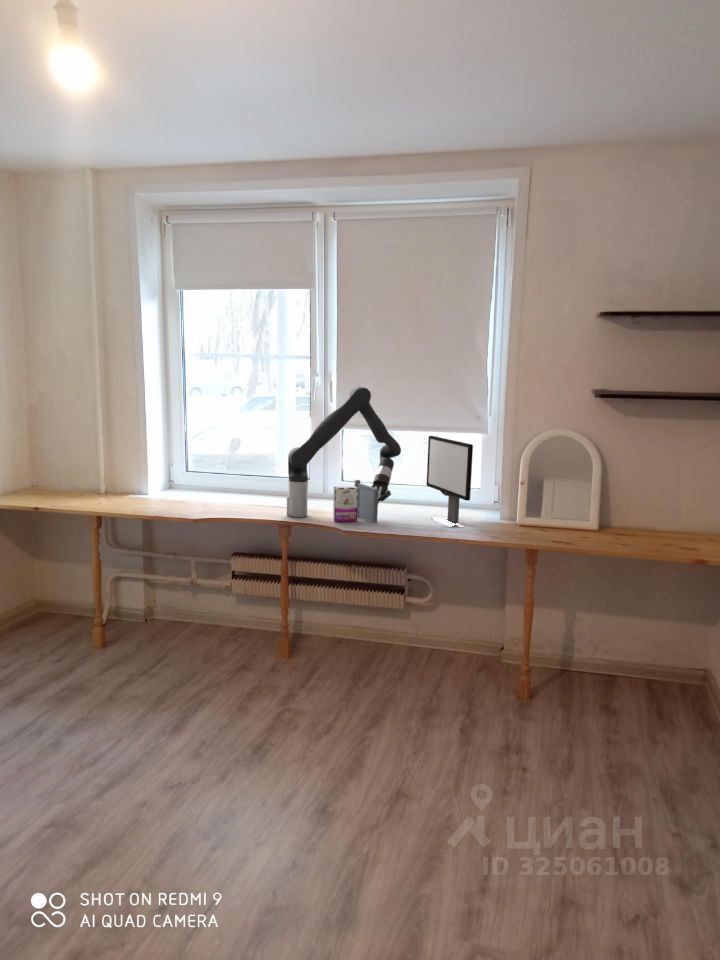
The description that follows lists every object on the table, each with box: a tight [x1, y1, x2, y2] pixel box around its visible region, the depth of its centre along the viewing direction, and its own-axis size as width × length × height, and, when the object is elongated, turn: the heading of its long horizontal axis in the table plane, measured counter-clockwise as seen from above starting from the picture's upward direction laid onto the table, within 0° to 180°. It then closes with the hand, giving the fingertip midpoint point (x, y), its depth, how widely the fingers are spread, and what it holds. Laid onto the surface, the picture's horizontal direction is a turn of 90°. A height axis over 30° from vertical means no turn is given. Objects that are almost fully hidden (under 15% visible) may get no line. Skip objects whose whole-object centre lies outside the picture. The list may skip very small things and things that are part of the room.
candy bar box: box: [332, 486, 358, 523], centre depth 331 cm, size 11×5×16 cm, turn 101°
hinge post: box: [353, 479, 361, 518], centre depth 341 cm, size 3×3×18 cm
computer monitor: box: [426, 435, 474, 529], centre depth 331 cm, size 41×8×40 cm, turn 21°
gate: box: [357, 482, 379, 524], centre depth 332 cm, size 17×2×16 cm, turn 28°
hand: (374, 507), depth 329 cm, fingers closed
